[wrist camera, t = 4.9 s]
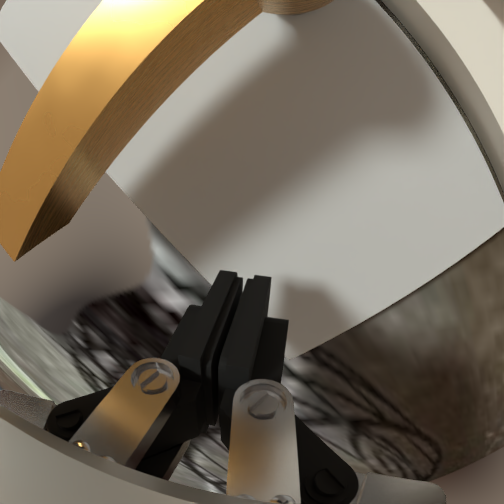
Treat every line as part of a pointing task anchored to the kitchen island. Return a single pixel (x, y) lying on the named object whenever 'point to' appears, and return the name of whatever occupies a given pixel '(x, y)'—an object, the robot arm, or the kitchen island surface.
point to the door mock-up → (316, 150)
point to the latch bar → (108, 101)
